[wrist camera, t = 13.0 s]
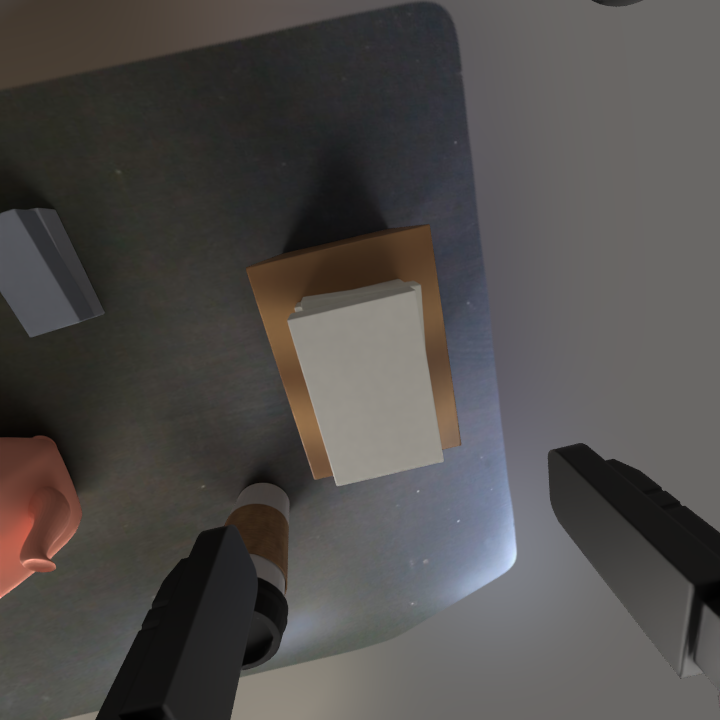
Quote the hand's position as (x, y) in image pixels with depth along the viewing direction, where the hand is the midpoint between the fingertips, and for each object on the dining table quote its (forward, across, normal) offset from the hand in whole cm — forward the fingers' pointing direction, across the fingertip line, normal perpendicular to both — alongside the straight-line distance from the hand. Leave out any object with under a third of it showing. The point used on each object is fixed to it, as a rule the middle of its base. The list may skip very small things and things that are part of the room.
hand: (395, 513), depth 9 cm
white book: (+10, 0, +1) cm, 10 cm away
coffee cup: (+26, +15, +20) cm, 36 cm away
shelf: (+26, 0, +1) cm, 27 cm away
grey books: (+26, +24, -9) cm, 37 cm away
